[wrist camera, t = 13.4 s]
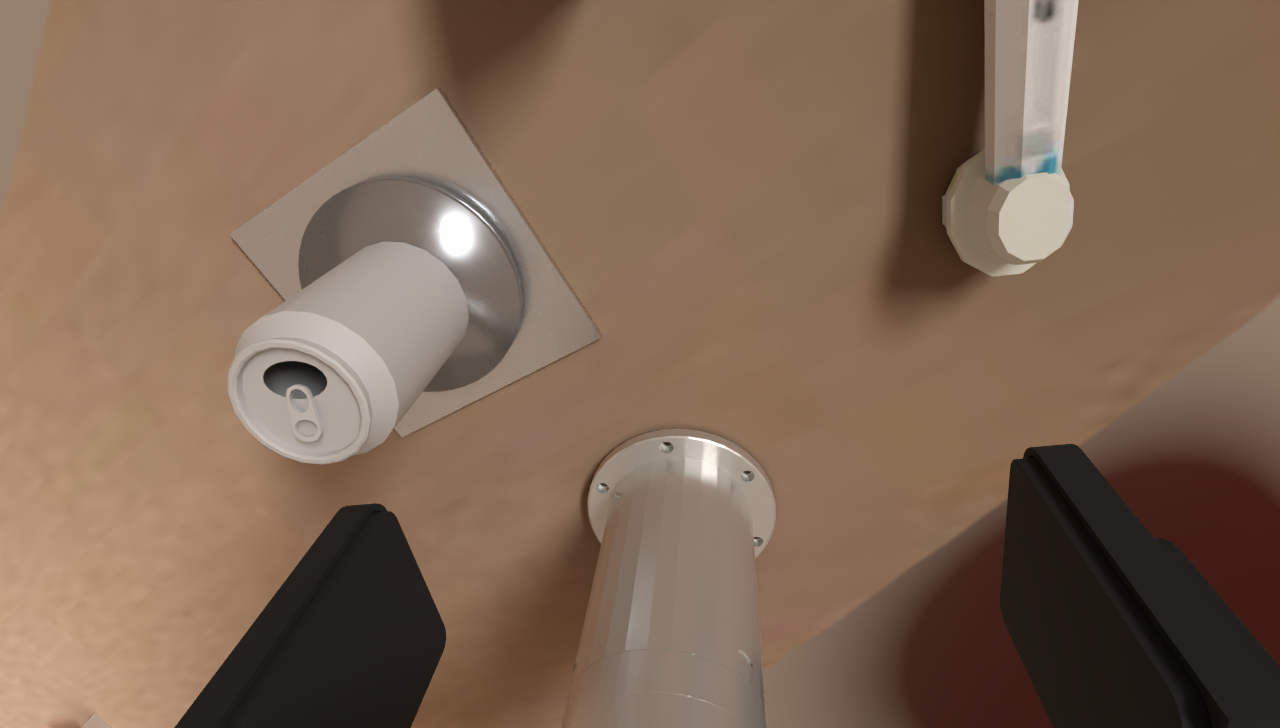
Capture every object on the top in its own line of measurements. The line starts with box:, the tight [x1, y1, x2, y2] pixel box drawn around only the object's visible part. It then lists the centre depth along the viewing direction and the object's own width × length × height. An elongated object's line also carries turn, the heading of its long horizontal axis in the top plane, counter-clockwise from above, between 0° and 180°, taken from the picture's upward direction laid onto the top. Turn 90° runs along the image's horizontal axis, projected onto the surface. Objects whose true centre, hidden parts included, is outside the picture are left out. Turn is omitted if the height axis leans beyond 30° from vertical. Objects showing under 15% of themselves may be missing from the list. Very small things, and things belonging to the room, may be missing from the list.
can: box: [227, 242, 469, 465], centre depth 34 cm, size 8×8×12 cm
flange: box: [230, 87, 602, 438], centre depth 39 cm, size 16×16×2 cm
